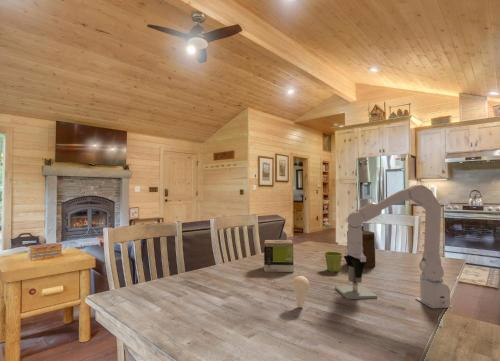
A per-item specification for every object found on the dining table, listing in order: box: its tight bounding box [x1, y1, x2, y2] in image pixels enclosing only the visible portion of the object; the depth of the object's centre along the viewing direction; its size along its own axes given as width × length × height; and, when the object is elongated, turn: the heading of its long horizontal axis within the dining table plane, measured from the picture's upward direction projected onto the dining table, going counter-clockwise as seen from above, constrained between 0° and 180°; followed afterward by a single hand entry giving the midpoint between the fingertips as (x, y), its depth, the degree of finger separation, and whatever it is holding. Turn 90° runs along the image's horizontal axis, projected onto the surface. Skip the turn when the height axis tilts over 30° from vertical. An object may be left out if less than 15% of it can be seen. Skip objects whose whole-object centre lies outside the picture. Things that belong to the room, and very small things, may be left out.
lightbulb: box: [291, 275, 310, 309], centre depth 105 cm, size 6×6×11 cm
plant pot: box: [323, 251, 344, 273], centre depth 153 cm, size 9×9×9 cm
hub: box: [347, 264, 363, 283], centre depth 119 cm, size 5×5×6 cm
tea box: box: [263, 239, 295, 273], centre depth 154 cm, size 15×10×15 cm
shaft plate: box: [334, 282, 378, 300], centre depth 119 cm, size 12×12×4 cm
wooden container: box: [346, 225, 376, 269], centre depth 165 cm, size 15×15×22 cm
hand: (355, 275), depth 119 cm, fingers closed on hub, 5 cm apart
